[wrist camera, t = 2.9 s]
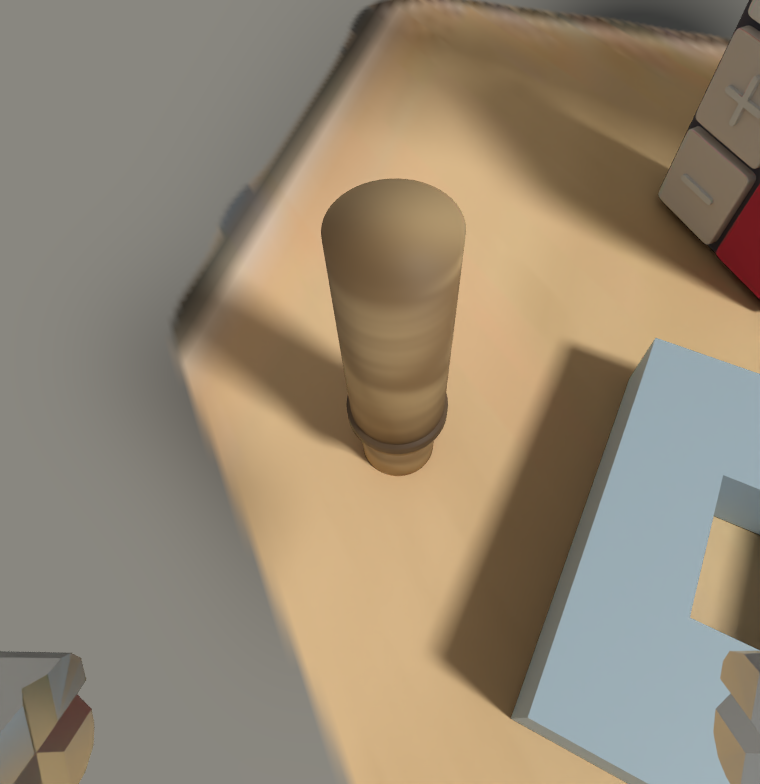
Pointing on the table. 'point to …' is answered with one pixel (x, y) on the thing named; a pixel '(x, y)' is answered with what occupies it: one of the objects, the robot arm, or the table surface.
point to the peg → (395, 313)
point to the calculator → (725, 158)
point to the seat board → (650, 577)
